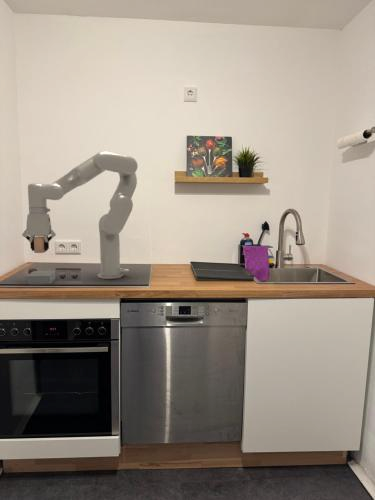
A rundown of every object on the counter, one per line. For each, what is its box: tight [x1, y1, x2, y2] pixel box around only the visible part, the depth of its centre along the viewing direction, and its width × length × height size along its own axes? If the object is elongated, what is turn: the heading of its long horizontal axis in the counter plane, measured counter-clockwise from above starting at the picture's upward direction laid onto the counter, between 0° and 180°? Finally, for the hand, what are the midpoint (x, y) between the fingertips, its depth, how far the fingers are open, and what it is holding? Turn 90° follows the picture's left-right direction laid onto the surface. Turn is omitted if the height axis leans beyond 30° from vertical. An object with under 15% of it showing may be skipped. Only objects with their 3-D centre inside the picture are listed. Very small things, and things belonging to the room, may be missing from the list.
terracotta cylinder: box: [33, 236, 47, 254], centre depth 162 cm, size 5×5×7 cm
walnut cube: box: [27, 267, 38, 275], centre depth 174 cm, size 4×4×4 cm
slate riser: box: [26, 270, 56, 285], centre depth 165 cm, size 10×10×4 cm
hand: (39, 250), depth 162 cm, fingers closed on terracotta cylinder, 5 cm apart
